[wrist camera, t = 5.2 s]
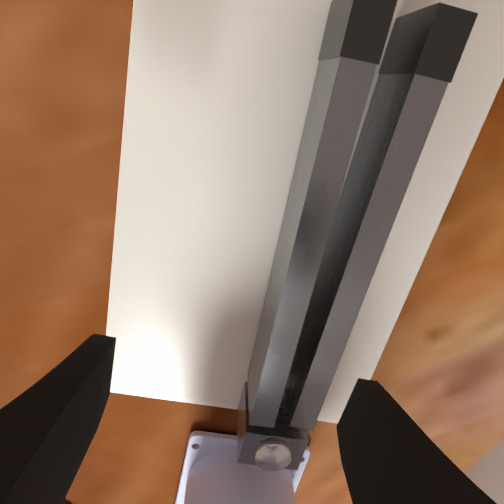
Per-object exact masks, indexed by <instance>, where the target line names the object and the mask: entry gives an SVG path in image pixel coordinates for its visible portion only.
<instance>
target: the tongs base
mask: <svg viewBox="0 0 504 504" xmlns="http://www.w3.org/2000/svg"><path fill="white" fill-rule="evenodd" d="M477 15H478V13H476V12H472V11H468V10H465V9H461V8H458V7H454V6H451V5H447V4H444V3H440V2H439V3H436V4H433V5H431V6H428V7H425V8H422V9H420V10H417V11H414V12H412V13H409V14H406V15H403V16H401V17H398V18H396V20H395V23H394V26H393V29H392V32H391V35H390V38H389V41H388V45H387V48H386V51H385V54H384V57H383V60H382V63H381V66H380V70H379V73H378V74H379V77H378V80H377V83H376V86H375V89H374V92H373V95H372V98H371V101H370V105H369V108H368V111H367V114H366V117H365V120H364V123H363V126H362V129H361V132H360V136H359V139H358V142H357V145H356V148H355V151H354V154H353V157H352V160H351V164H350V167H349V170H348V173H347V176H346V179H345V182H344V185H343V188H342V192H341V195H340V198H339V201H338V204H337V207H336V211H335V214H334V218H333V221H332V225H331V228H330V232H329V235H328V239H327V242H326V246H325V249H324V253H323V256H322V260H321V263H320V267H319V270H318V274H317V277H316V281H315V284H314V288H313V291H312V295H311V298H310V302H309V305H308V309H307V312H306V316H305V320H304V323H303V327H302V330H301V334H300V337H299V341H298V344H297V348H296V351H295V355H294V358H293V362H292V365H291V369H290V372H289V376H288V379H287V383H286V386H285V390H284V393H283V397H282V400H281V404H280V407H279V411H278V414H277V418H276V421H275V425H274V428H272V427H263V426H253V425H249V404H248V382H245V383H244V387H243V391H242V394H241V398H240V401H239V405H238V409H237V463H241V464H249V465H257V466H258V467H259V468H261V469H262V470H265V471H279V470H282V469H290V470H298V467H299V465H300V462H301V460H302V457H303V454H304V452H305V449H306V447H307V444H308V442H309V439H308V434H307V429H314V426H315V424H316V421H317V419H318V416H319V413H320V411H321V408H322V406H323V403H324V401H325V398H326V396H327V393H328V390H329V388H330V385H331V383H332V380H333V378H334V375H335V373H336V370H337V367H338V365H339V362H340V360H341V357H342V355H343V352H344V349H345V347H346V344H347V342H348V339H349V337H350V334H351V332H352V329H353V326H354V324H355V321H356V319H357V316H358V314H359V311H360V309H361V306H362V303H363V301H364V298H365V296H366V293H367V291H368V288H369V286H370V283H371V280H372V278H373V275H374V273H375V270H376V268H377V265H378V262H379V260H380V257H381V255H382V252H383V250H384V247H385V245H386V242H387V239H388V237H389V234H390V232H391V229H392V227H393V224H394V222H395V219H396V216H397V214H398V211H399V209H400V206H401V204H402V201H403V199H404V196H405V193H406V191H407V188H408V186H409V183H410V181H411V178H412V175H413V173H414V170H415V168H416V165H417V163H418V160H419V158H420V155H421V152H422V150H423V147H424V145H425V142H426V140H427V137H428V135H429V132H430V129H431V127H432V124H433V122H434V119H435V117H436V114H437V112H438V109H439V106H440V104H441V101H442V99H443V96H444V94H445V91H446V89H447V86H448V83H451V82H452V79H453V77H454V74H455V71H456V69H457V66H458V64H459V61H460V59H461V56H462V54H463V51H464V49H465V46H466V43H467V41H468V38H469V36H470V33H471V31H472V28H473V26H474V23H475V21H476V18H477Z"/></svg>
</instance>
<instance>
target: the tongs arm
mask: <svg viewBox="0 0 504 504" xmlns="http://www.w3.org/2000/svg"><path fill="white" fill-rule="evenodd" d="M397 1H398V0H333V1H332V2H331V5H330V9H329V14H328V18H327V22H326V27H325V31H324V36H323V40H322V44H321V49H320V53H319V58H318V60H319V64H318V69H317V73H316V77H315V82H314V86H313V90H312V95H311V99H310V103H309V108H308V112H307V117H306V121H305V125H304V130H303V134H302V138H301V143H300V147H299V151H298V156H297V160H296V165H295V169H294V173H293V178H292V182H291V186H290V191H289V195H288V199H287V204H286V208H285V213H284V217H283V221H282V226H281V230H280V234H279V239H278V243H277V247H276V252H275V256H274V261H273V265H272V269H271V274H270V278H269V282H268V287H267V291H266V295H265V300H264V304H263V309H262V313H261V317H260V322H259V326H258V330H257V335H256V339H255V343H254V348H253V352H252V357H251V361H250V365H249V370H248V404H249V425H253V426H263V427H272V428H274V425H275V421H276V418H277V414H278V411H279V407H280V404H281V400H282V397H283V393H284V390H285V386H286V383H287V379H288V376H289V372H290V369H291V365H292V362H293V358H294V355H295V351H296V348H297V344H298V341H299V337H300V334H301V330H302V327H303V323H304V320H305V316H306V312H307V309H308V305H309V302H310V298H311V295H312V291H313V288H314V284H315V281H316V277H317V274H318V270H319V267H320V263H321V260H322V256H323V253H324V249H325V246H326V242H327V239H328V235H329V232H330V228H331V225H332V221H333V218H334V214H335V211H336V207H337V204H338V200H339V197H340V193H341V190H342V186H343V182H344V179H345V175H346V172H347V168H348V165H349V161H350V158H351V154H352V151H353V147H354V144H355V140H356V137H357V133H358V130H359V126H360V123H361V119H362V116H363V112H364V109H365V105H366V102H367V98H368V95H369V91H370V88H371V84H372V81H373V77H374V74H375V70H376V67H377V65H379V63H380V60H381V56H382V53H383V49H384V46H385V42H386V39H387V35H388V32H389V28H390V25H391V22H392V18H393V15H394V11H395V8H396V4H397Z"/></svg>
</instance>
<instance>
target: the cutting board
mask: <svg viewBox="0 0 504 504" xmlns="http://www.w3.org/2000/svg"><path fill="white" fill-rule="evenodd" d="M332 1H333V0H133V12H132V25H131V37H130V49H129V61H128V73H127V86H126V98H125V110H124V122H123V134H122V146H121V159H120V171H119V183H118V195H117V207H116V220H115V232H114V244H113V256H112V268H111V280H110V293H109V305H108V317H107V329H106V336H110V337H116V344H115V353H114V362H113V370H112V379H111V387H110V392H113V393H121V394H128V395H135V396H142V397H150V398H157V399H164V400H171V401H179V402H186V403H193V404H200V405H207V406H215V407H222V408H229V409H236V410H237V409H238V405H239V401H240V398H241V394H242V391H243V387H244V383H245V382H248V370H249V365H250V361H251V357H252V352H253V348H254V343H255V339H256V335H257V330H258V326H259V322H260V317H261V313H262V309H263V304H264V300H265V295H266V291H267V287H268V282H269V278H270V274H271V269H272V265H273V261H274V256H275V252H276V247H277V243H278V239H279V234H280V230H281V226H282V221H283V217H284V213H285V208H286V204H287V199H288V195H289V191H290V186H291V182H292V178H293V173H294V169H295V165H296V160H297V156H298V151H299V147H300V143H301V138H302V134H303V130H304V125H305V121H306V117H307V112H308V108H309V103H310V99H311V95H312V90H313V86H314V82H315V77H316V73H317V69H318V64H319V60H318V58H319V53H320V49H321V44H322V40H323V36H324V31H325V27H326V22H327V18H328V14H329V9H330V5H331V2H332ZM439 2H440V3H444V4H447V5H451V6H454V7H458V8H461V9H465V10H468V11H472V12H476V13H478V15H477V18H476V21H475V23H474V26H473V28H472V31H471V33H470V36H469V38H468V41H467V43H466V46H465V49H464V51H463V54H462V56H461V59H460V61H459V64H458V66H457V69H456V71H455V74H454V77H453V79H452V82H451V83H448V86H447V89H446V91H445V94H444V96H443V99H442V101H441V104H440V106H439V109H438V112H437V114H436V117H435V119H434V122H433V124H432V127H431V129H430V132H429V135H428V137H427V140H426V142H425V145H424V147H423V150H422V152H421V155H420V158H419V160H418V163H417V165H416V168H415V170H414V173H413V175H412V178H411V181H410V183H409V186H408V188H407V191H406V193H405V196H404V199H403V201H402V204H401V206H400V209H399V211H398V214H397V216H396V219H395V222H394V224H393V227H392V229H391V232H390V234H389V237H388V239H387V242H386V245H385V247H384V250H383V252H382V255H381V257H380V260H379V262H378V265H377V268H376V270H375V273H374V275H373V278H372V280H371V283H370V286H369V288H368V291H367V293H366V296H365V298H364V301H363V303H362V306H361V309H360V311H359V314H358V316H357V319H356V321H355V324H354V326H353V329H352V332H351V334H350V337H349V339H348V342H347V344H346V347H345V349H344V352H343V355H342V357H341V360H340V362H339V365H338V367H337V370H336V373H335V375H334V378H333V380H332V383H331V385H330V388H329V390H328V393H327V396H326V398H325V401H324V403H323V406H322V408H321V411H320V413H319V416H318V419H317V421H323V422H331V423H338V422H339V420H340V418H341V416H342V413H343V411H344V409H345V407H346V404H347V402H348V400H349V398H350V395H351V393H352V391H353V389H354V386H355V384H356V382H357V380H358V378H360V379H366V380H371V377H372V375H373V373H374V370H375V368H376V366H377V364H378V361H379V359H380V357H381V355H382V352H383V350H384V348H385V346H386V343H387V341H388V339H389V336H390V334H391V332H392V330H393V327H394V325H395V323H396V321H397V318H398V316H399V314H400V312H401V309H402V307H403V305H404V302H405V300H406V298H407V296H408V293H409V291H410V289H411V287H412V284H413V282H414V280H415V278H416V275H417V273H418V271H419V268H420V266H421V264H422V262H423V259H424V257H425V255H426V253H427V250H428V248H429V246H430V244H431V241H432V239H433V237H434V235H435V232H436V230H437V228H438V225H439V223H440V221H441V219H442V216H443V214H444V212H445V210H446V207H447V205H448V203H449V201H450V198H451V196H452V194H453V191H454V189H455V187H456V185H457V182H458V180H459V178H460V176H461V173H462V171H463V169H464V167H465V164H466V162H467V160H468V157H469V155H470V153H471V151H472V148H473V146H474V144H475V142H476V139H477V137H478V135H479V133H480V130H481V128H482V126H483V123H484V121H485V119H486V117H487V114H488V112H489V110H490V108H491V105H492V103H493V101H494V99H495V96H496V94H497V92H498V90H499V87H500V85H501V83H502V80H503V78H504V0H398V1H397V4H396V8H395V11H394V15H393V18H392V22H391V25H390V28H389V32H388V35H387V39H386V42H385V46H384V49H383V53H382V56H381V60H380V63H379V65H377V67H376V70H375V74H374V77H373V81H372V84H371V88H370V91H369V95H368V98H367V102H366V105H365V109H364V112H363V116H362V119H361V123H360V126H359V130H358V133H357V137H356V140H355V144H354V147H353V151H352V154H351V158H350V161H349V165H348V168H347V172H346V175H345V179H346V176H347V173H348V170H349V167H350V164H351V160H352V157H353V154H354V151H355V148H356V145H357V142H358V139H359V136H360V132H361V129H362V126H363V123H364V120H365V117H366V114H367V111H368V108H369V105H370V101H371V98H372V95H373V92H374V89H375V86H376V83H377V80H378V77H379V74H378V73H379V70H380V66H381V63H382V60H383V57H384V54H385V51H386V48H387V45H388V41H389V38H390V35H391V32H392V29H393V26H394V23H395V20H396V18H398V17H401V16H403V15H406V14H409V13H412V12H414V11H417V10H420V9H422V8H425V7H428V6H431V5H433V4H436V3H439ZM345 179H344V182H345ZM344 182H343V185H344ZM342 188H343V186H342ZM341 192H342V190H341ZM340 195H341V193H340ZM339 198H340V197H339ZM338 201H339V200H338Z"/></svg>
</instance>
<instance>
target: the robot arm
mask: <svg viewBox="0 0 504 504" xmlns="http://www.w3.org/2000/svg"><path fill="white" fill-rule="evenodd" d="M115 344H116V337H110V336H104V335H98V334H93V335H91V336H90V337H89V338H88V339H86V340H85V341H84V342H83V343H82V344H81V345H80V346H79V347H78V348H77V349H76V350H75V351H73V352H72V353H71V354H70V355H69V356H68V357H67V358H65V359H64V360H63V361H62V362H61V363H60V364H59V365H57V366H56V367H55V368H54V369H52V370H51V371H50V372H49V373H48V374H46V375H45V376H44V377H43V378H41V379H40V380H39V381H38V382H37V383H35V384H34V385H33V386H31V387H30V388H29V389H27V390H26V391H25V392H23V393H22V394H21V395H19V396H18V397H17V398H15V399H14V400H13V401H11V402H10V403H8V404H7V405H6V406H4V407H3V408H2V409H0V504H62V503H63V501H64V499H65V497H66V495H67V492H68V490H69V488H70V486H71V484H72V482H73V480H74V478H75V475H76V473H77V471H78V469H79V467H80V465H81V463H82V461H83V459H84V456H85V454H86V452H87V450H88V448H89V446H90V444H91V441H92V439H93V437H94V435H95V433H96V431H97V428H98V426H99V423H100V420H101V417H102V414H103V412H104V409H105V406H106V403H107V400H108V397H109V394H110V387H111V379H112V370H113V362H114V353H115ZM337 434H338V441H339V449H340V455H341V461H342V465H343V469H344V473H345V476H346V480H347V484H348V488H349V491H350V495H351V499H352V502H353V504H496V503H495V502H494V501H493V500H492V499H491V498H490V497H489V496H487V495H486V494H485V493H484V492H483V491H482V490H481V489H480V488H479V487H477V486H476V485H475V484H474V483H473V482H472V481H471V480H470V479H469V478H468V477H467V476H466V475H465V474H464V473H463V472H462V471H461V470H460V469H459V468H458V467H457V466H456V465H455V464H454V463H453V462H452V461H451V460H450V459H449V458H448V457H447V456H446V455H445V454H444V453H443V452H442V451H441V450H440V449H439V448H438V447H437V446H436V445H435V444H434V443H433V442H432V441H431V439H430V438H429V437H428V436H427V435H426V434H425V433H424V432H423V431H422V430H421V429H420V428H419V426H418V425H417V424H416V423H415V422H414V421H413V420H412V419H411V418H410V416H409V415H408V414H407V413H406V412H405V411H404V410H403V409H402V408H401V406H400V405H399V404H398V403H397V402H396V401H395V400H394V399H393V398H392V396H391V395H390V394H389V393H388V392H387V391H386V390H385V389H384V388H383V387H382V386H381V385H380V384H379V383H378V382H377V381H372V380H366V379H360V378H358V380H357V382H356V384H355V386H354V389H353V391H352V393H351V395H350V398H349V400H348V402H347V404H346V407H345V409H344V411H343V413H342V416H341V418H340V420H339V422H338V425H337ZM309 456H310V448H309V447H308V446H307V447H306V449H305V452H304V454H303V457H302V460H301V462H300V465H299V467H298V470H290V469H282V470H279V471H265V470H262V469H261V468H259V467H258V466H257V465H249V464H241V463H237V436H235V435H228V434H220V433H212V432H204V431H193V432H192V433H191V434H190V436H189V440H188V445H187V450H186V454H185V459H184V464H183V468H182V473H181V478H180V482H179V487H178V492H177V496H176V501H175V504H296V501H295V491H296V489H297V486H298V484H299V481H300V479H301V476H302V474H303V471H304V469H305V466H306V464H307V461H308V459H309Z"/></svg>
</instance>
